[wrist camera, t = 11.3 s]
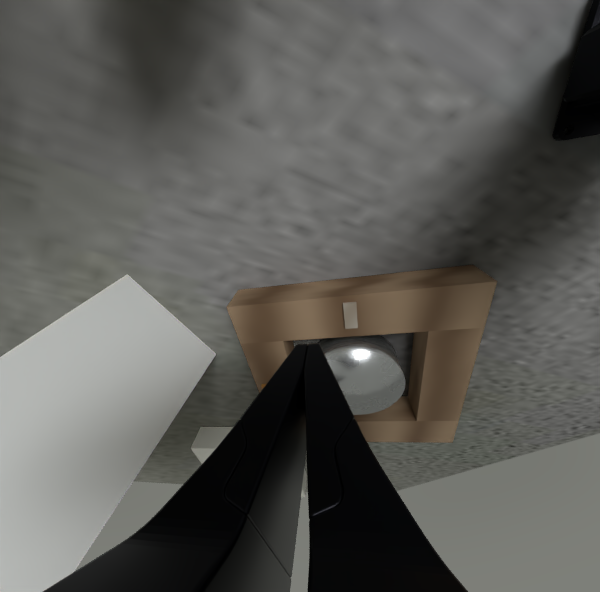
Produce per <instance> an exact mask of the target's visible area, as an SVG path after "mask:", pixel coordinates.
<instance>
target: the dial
mask: <svg viewBox="0 0 600 592" xmlns="http://www.w3.org/2000/svg"><path fill="white" fill-rule="evenodd" d="M319 344H320V346H321V348H322V350H323V352H324V354H325V356H326V359H327V361H328V363H329V365H330V367H331V369H332V371H333V373H334V375H335V377H336V379H337V382H338V384H339V386H340V388H341V390H342V392H343V394H344V396H345V398H346V400H347V403H348V405H349V407H350V409H351V411H352V413H353V415H364V414H371V413H375V412H379V411H381V410H384V409H386V408H388V407H390V406H391V405H393V404H394V403H395V402H396V401H397V400H398V399H399V398H400V397H401V395H402V394H403V392H404V389H405V377H404V374H403V371H402V369H401V366H400V363H399V361H398V358H397V355H396V352H395V350H394V348H393V346H392V345H391V344H390V343H389V342H388V341H387V340H386V339H385V338H383V337H382V336H380V335H366V336H351V337H336V338H324V339H323V340H321V341H320V342H319Z"/></svg>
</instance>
